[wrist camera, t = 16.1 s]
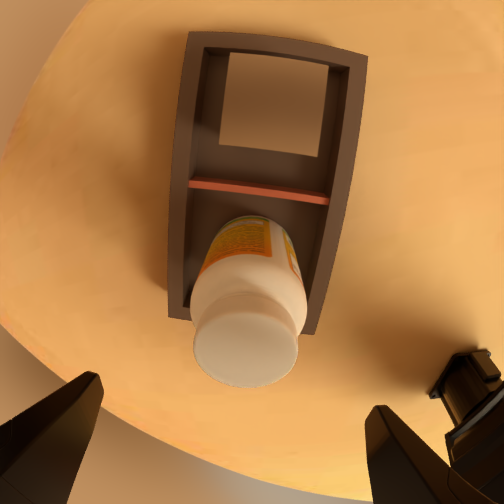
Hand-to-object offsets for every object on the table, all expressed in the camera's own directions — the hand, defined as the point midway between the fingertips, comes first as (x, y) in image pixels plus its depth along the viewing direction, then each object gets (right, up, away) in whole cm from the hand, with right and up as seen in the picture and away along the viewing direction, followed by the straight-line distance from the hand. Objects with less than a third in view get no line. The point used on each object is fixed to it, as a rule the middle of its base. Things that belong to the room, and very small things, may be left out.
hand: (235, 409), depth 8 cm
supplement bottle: (+1, +5, +12) cm, 13 cm away
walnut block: (+2, +13, +8) cm, 15 cm away
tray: (+1, +9, +10) cm, 14 cm away
